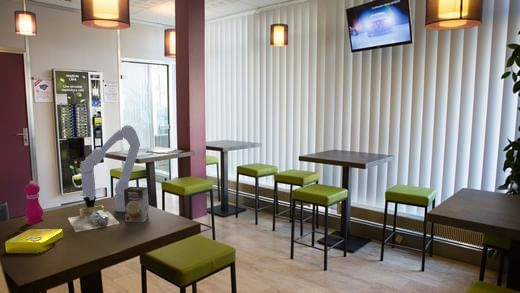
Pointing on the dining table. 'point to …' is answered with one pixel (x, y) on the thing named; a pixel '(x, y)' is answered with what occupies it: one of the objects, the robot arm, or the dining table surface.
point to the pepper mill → (33, 204)
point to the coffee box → (136, 204)
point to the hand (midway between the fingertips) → (90, 211)
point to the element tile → (33, 241)
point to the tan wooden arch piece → (96, 208)
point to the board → (89, 222)
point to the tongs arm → (93, 218)
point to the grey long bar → (103, 218)
